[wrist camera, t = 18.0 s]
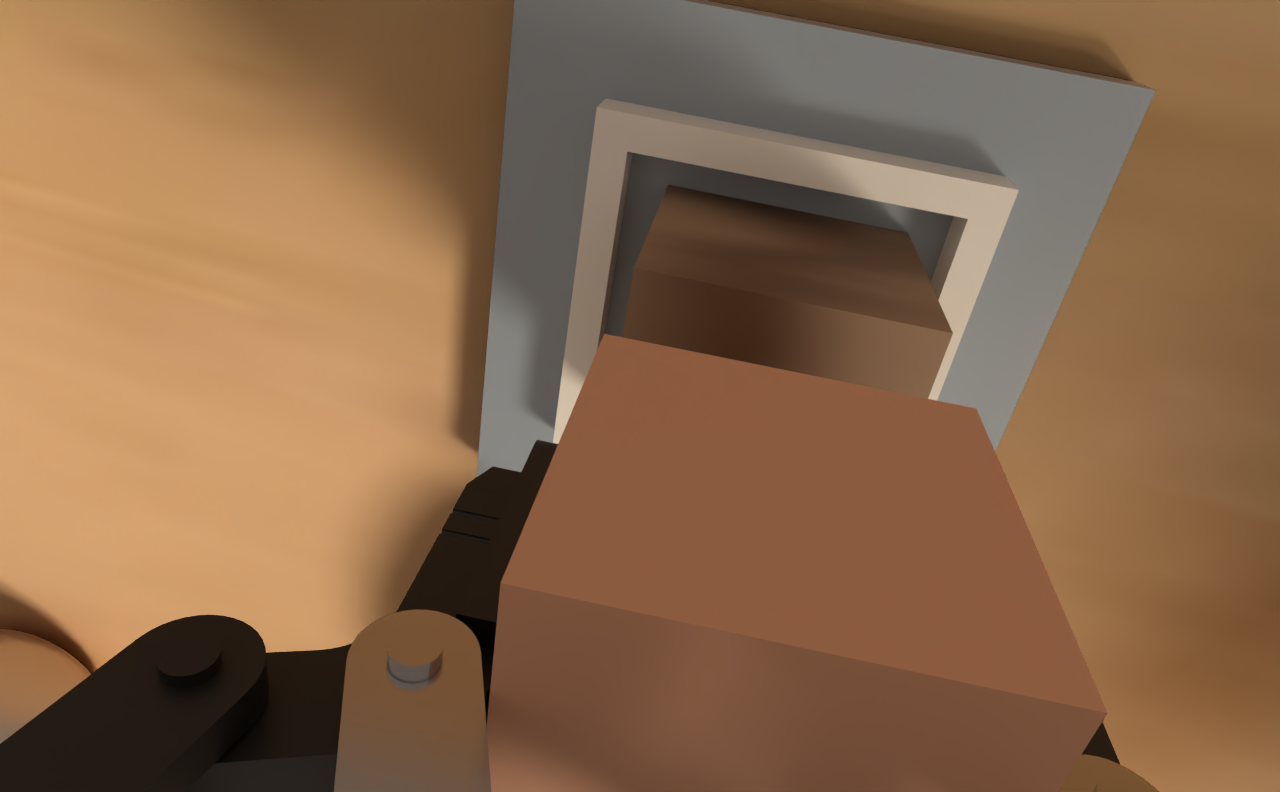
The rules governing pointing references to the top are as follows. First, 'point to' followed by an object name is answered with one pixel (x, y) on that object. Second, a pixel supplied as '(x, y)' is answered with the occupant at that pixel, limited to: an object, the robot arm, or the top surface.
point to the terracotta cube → (777, 596)
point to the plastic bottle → (32, 678)
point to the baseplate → (782, 179)
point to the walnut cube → (787, 292)
